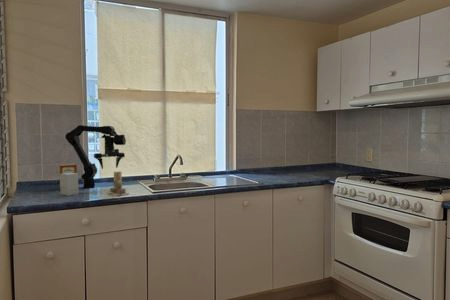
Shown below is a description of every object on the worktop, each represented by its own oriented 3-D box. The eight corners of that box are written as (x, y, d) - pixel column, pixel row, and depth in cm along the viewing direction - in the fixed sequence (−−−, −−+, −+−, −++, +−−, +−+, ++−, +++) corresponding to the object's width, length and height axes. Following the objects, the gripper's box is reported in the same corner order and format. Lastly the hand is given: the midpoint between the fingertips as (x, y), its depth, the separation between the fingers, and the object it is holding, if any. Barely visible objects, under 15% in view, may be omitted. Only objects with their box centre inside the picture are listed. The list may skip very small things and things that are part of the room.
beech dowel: (113, 189, 203) (113, 172, 203) (114, 187, 208) (114, 171, 207) (121, 188, 204) (121, 172, 204) (121, 187, 209) (121, 171, 208)
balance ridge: (106, 193, 206) (106, 188, 206) (118, 191, 213) (117, 186, 213) (117, 196, 200) (117, 190, 200) (129, 194, 206) (129, 188, 206)
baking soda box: (60, 190, 218) (60, 165, 216) (60, 188, 223) (59, 164, 222) (76, 188, 222) (76, 164, 221) (75, 187, 228) (75, 163, 227)
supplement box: (79, 193, 206) (78, 173, 205) (67, 195, 200) (67, 174, 199) (71, 192, 210) (70, 172, 209) (60, 194, 204) (59, 173, 203)
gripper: (97, 145, 213) (97, 170, 214) (126, 145, 223) (127, 168, 224) (93, 144, 223) (93, 168, 224) (122, 144, 233) (122, 167, 234)
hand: (109, 168), depth 226 cm, fingers open, 9 cm apart
